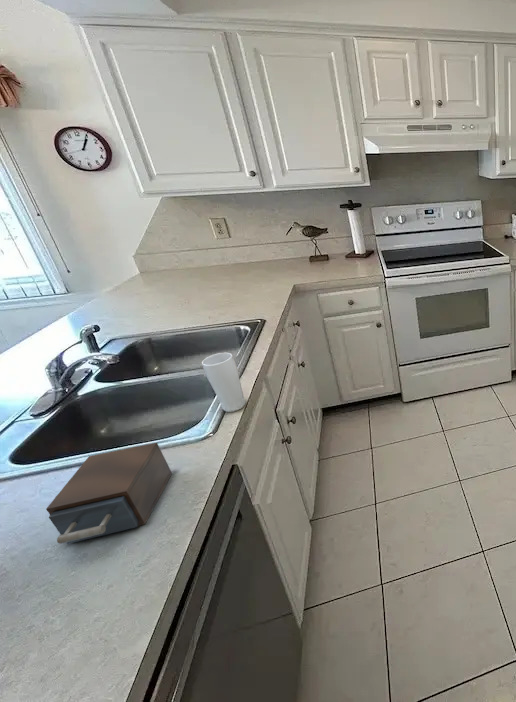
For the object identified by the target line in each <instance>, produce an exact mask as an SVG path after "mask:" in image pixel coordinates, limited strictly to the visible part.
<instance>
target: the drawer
mask: <svg viewBox="0 0 516 702" xmlns="http://www.w3.org/2000/svg"><path fill="white" fill-rule="evenodd" d="M48 519H49V520H50V521H51V523H52V524H53V526H54V527H55V529H56V530H57V531H58V533H59V535H58V536H57V538H56V542H57V544H58V545H61V544H65V543H66V544H67V545H69V544H72V543H77V542H82V541H85V540H89V539H93V538H97V537H102V536H106V535H110V534H114V533H117V532H122V531H126V530H131V529H134V528H138V527H139V526H138V524H139V520H138V518H137V517H136V515H135V513H134V512H133V510H132V508H131V506H130V505H129V503H128V501H127V500H126V498H125V496H123V495H122V496H118V497H114V498H109V499H105V500H100V501H96V502H91V503H87V504H82V505H78V506H74V507H69V508H65V509H64V510H60V511H55V512H52V514H51V515H50V514H49V516H48Z"/></svg>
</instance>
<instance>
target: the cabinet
mask: <svg viewBox="0 0 516 702" xmlns="http://www.w3.org/2000/svg"><path fill="white" fill-rule="evenodd" d="M172 475H173V472H172V470H171V468H170V466H169V464H168V462H167V460H166V458H165V455H164V454H163V452H162V450H161V448H160V446H159V443H158V442H153V443H149V444H148V443H147V444H143V445H137V446H133V447H128V448H123V449H118V450H113V451H108V452H103V453H98V454H93V455H89V456H88V457H87V458H86V459H85V461H84V462H83V463H82V464H81V465H80V467H79V468H78V469H77V471H76V472H75V473H74V474H73V475H72V477H70V479H69V480H68V481H67V483H66V484H65V485H64V486H63V487H62V489H60V490H59V493H58V494H57V495H56V496H55V497H54V498H53V499H52V501H51V502H50V503H49V505H47V507H46V508H45V510H46V512H47V513H48V514H49V516H50V515H51V514H52V512H55V511H60V510H64V509H65V508H69V507H74V506H78V505H82V504H87V503H91V502H96V501H100V500H105V499H109V498H114V497H118V496H122V495H123V496H125V498H126V500H127V501H128V503H129V505H130V506H131V508H132V510H133V512H134V513H135V515H136V517H137V518H138V520H139V524H138V526H137V527H139V526H144V525H146V524H147V522H148V520H149V518H150V517H151V514H152V513H153V511H154V509H155V506H156V505H157V503H158V501H159V499H160V498H161V496H162V493H163V492H164V490H165V488H166V486H167V484H168V482H169V480H170V478H171V476H172Z"/></svg>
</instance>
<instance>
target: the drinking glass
mask: <svg viewBox="0 0 516 702" xmlns="http://www.w3.org/2000/svg"><path fill="white" fill-rule="evenodd" d="M201 366H202V368H203V371H204V373H205V376H206V378H207V380H208V382H209V384H210V386H211V389H212V390H213V392H214V394H215V395H216V397H217V399H218V401H219V404H220V405H221V408H222V410H223V411H224V412H226V413H232V412H237V411H239V410H241V409H242V408H244V406H245V405H246V399H245V396H244V391H243V388H242V384H241V379H240V374H239V371H238V366H237V364H236V361H235V359H234V356H233V354H232V353H231V352H218V353H213V354H211V355H209V356H207V357H205V358H204V359H203V360H202V361H201Z"/></svg>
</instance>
